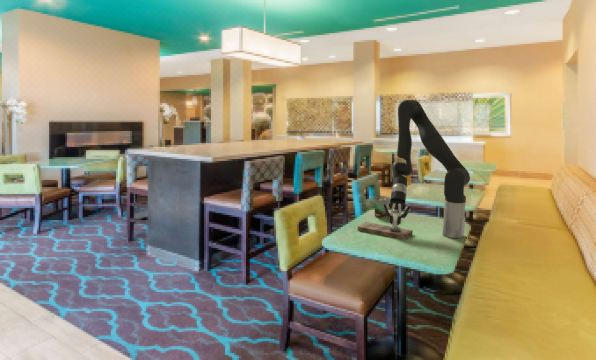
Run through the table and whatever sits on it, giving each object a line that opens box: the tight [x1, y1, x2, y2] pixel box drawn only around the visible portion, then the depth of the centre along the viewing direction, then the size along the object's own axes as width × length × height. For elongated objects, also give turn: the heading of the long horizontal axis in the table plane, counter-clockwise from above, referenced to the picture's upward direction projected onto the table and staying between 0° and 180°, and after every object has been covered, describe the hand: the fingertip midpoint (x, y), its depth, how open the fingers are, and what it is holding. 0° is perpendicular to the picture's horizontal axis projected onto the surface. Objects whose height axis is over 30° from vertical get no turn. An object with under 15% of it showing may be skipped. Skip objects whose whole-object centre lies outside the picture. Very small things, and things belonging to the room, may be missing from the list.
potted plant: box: [373, 196, 390, 218], centre depth 220 cm, size 12×6×10 cm, turn 143°
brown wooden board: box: [357, 221, 414, 241], centre depth 190 cm, size 25×10×2 cm, turn 55°
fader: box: [389, 210, 401, 231], centre depth 185 cm, size 4×4×10 cm
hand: (394, 223), depth 184 cm, fingers closed on fader, 2 cm apart
